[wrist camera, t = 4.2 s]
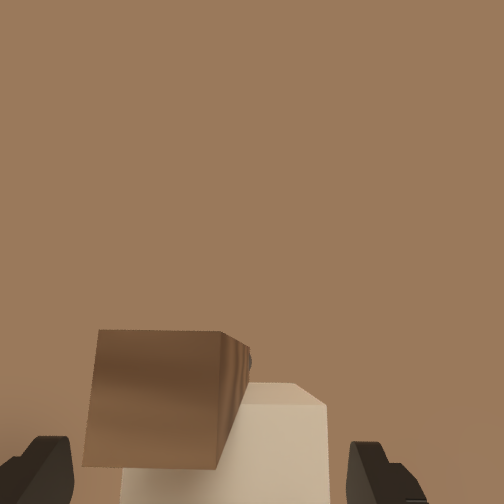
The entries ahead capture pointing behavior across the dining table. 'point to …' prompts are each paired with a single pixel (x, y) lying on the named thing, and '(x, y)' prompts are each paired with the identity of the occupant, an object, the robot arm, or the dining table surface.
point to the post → (252, 457)
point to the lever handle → (164, 398)
